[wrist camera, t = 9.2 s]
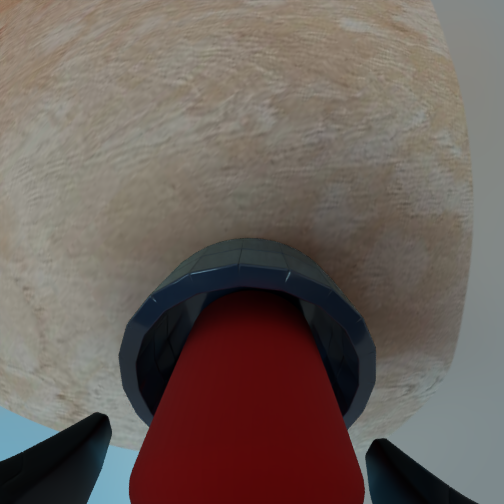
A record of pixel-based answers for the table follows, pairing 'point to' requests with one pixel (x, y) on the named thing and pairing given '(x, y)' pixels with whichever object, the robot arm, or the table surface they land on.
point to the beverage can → (248, 415)
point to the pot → (242, 279)
